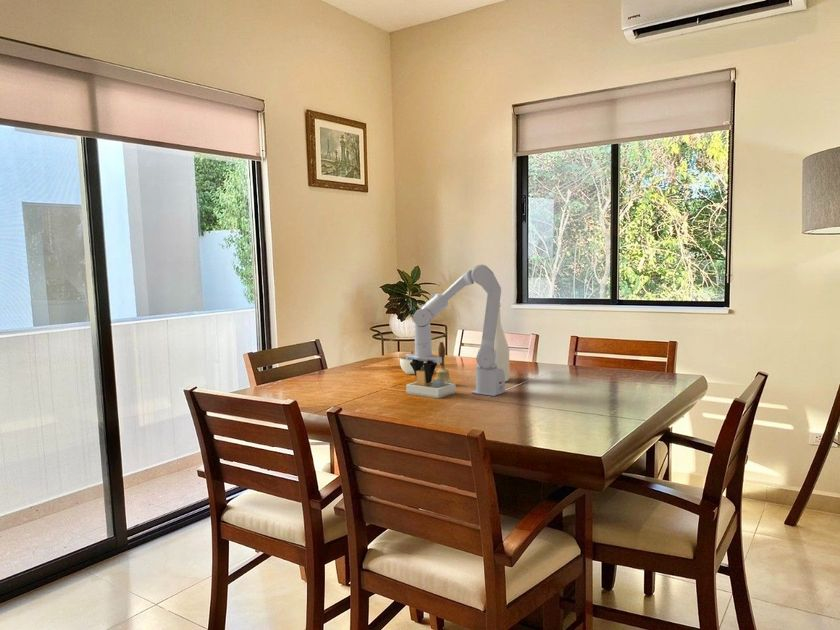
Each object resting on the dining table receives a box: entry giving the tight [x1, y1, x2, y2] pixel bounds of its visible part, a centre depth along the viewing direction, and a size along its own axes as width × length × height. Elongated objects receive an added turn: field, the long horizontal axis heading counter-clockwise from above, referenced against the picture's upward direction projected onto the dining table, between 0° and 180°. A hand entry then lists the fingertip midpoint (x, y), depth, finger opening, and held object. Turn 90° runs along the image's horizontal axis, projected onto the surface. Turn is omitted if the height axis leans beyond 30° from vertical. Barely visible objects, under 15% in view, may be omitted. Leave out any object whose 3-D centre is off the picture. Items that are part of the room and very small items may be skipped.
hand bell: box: [434, 341, 455, 384], centre depth 226 cm, size 8×8×16 cm
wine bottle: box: [494, 302, 511, 383], centre depth 230 cm, size 10×10×30 cm
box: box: [405, 379, 457, 399], centre depth 212 cm, size 14×10×5 cm
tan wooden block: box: [415, 367, 431, 386], centre depth 213 cm, size 4×4×7 cm
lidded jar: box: [398, 350, 426, 375], centre depth 252 cm, size 11×11×9 cm
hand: (424, 381), depth 214 cm, fingers closed on tan wooden block, 3 cm apart
